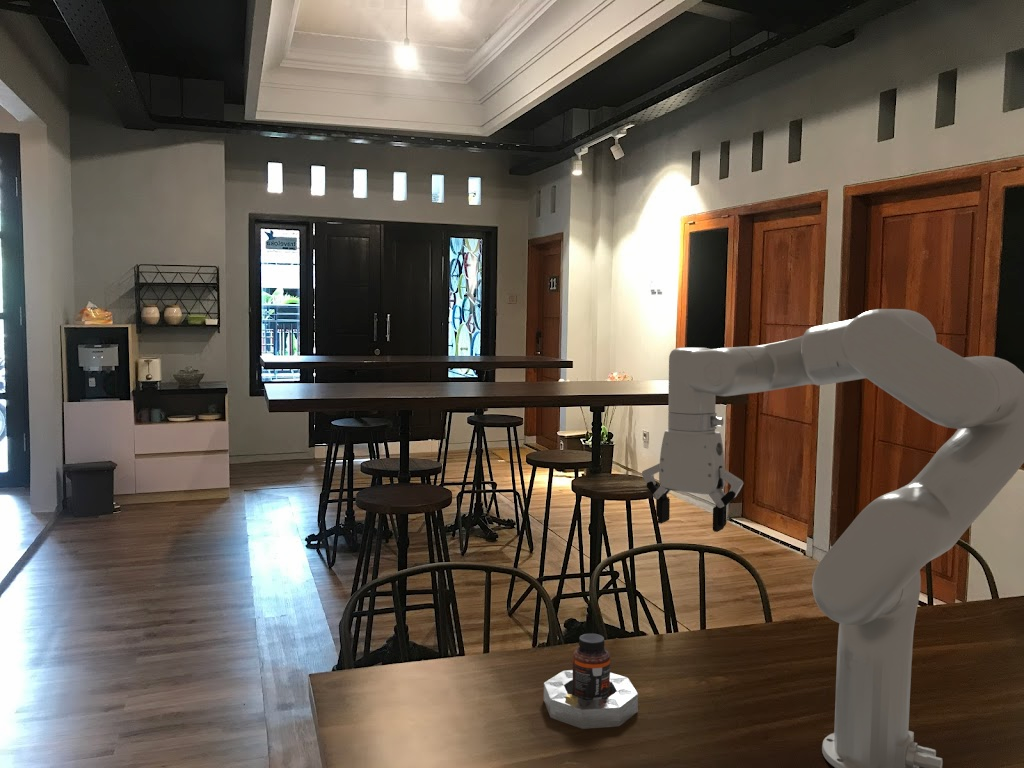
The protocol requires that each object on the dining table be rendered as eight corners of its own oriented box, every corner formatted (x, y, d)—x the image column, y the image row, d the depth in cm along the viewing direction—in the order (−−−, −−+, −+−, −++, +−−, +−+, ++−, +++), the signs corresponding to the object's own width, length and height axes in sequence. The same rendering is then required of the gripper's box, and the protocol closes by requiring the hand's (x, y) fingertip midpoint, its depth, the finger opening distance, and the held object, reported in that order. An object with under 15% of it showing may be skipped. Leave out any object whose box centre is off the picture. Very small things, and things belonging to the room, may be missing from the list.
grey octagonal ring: (649, 702, 135) (650, 680, 135) (605, 737, 124) (606, 713, 123) (576, 679, 143) (576, 658, 143) (528, 710, 132) (528, 687, 132)
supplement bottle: (607, 716, 130) (608, 646, 129) (569, 713, 131) (570, 643, 130) (611, 699, 136) (611, 632, 135) (574, 696, 137) (575, 629, 136)
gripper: (751, 424, 134) (749, 528, 135) (653, 417, 144) (652, 514, 145) (734, 429, 128) (732, 538, 129) (633, 421, 138) (632, 523, 139)
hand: (690, 525), depth 137 cm, fingers open, 9 cm apart
